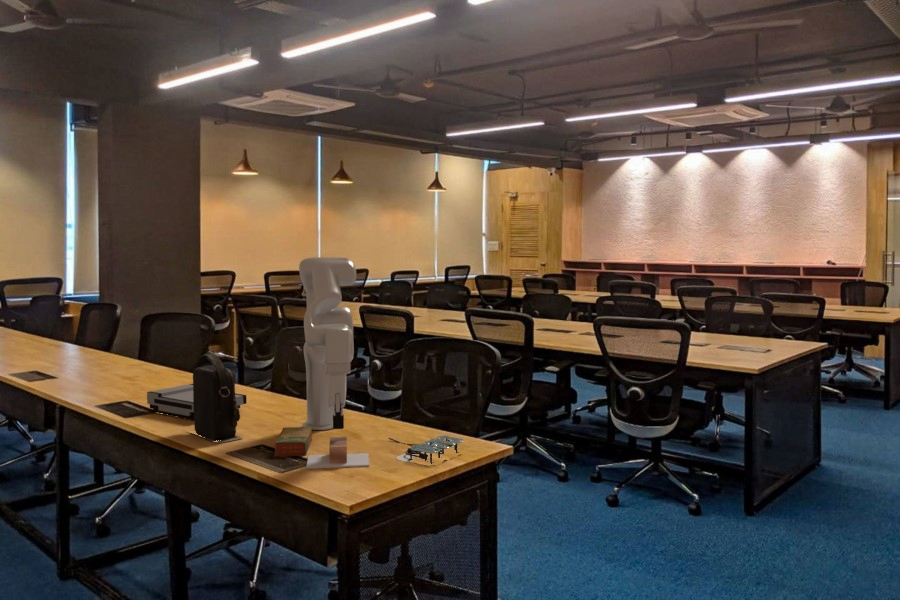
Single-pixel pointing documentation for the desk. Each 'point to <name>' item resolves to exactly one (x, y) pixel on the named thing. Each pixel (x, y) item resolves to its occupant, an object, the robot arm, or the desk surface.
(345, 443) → the walnut block
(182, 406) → the game console
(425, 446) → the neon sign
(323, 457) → the grey mat
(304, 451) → the carton
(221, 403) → the shoulder bag
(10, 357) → the desk surface
